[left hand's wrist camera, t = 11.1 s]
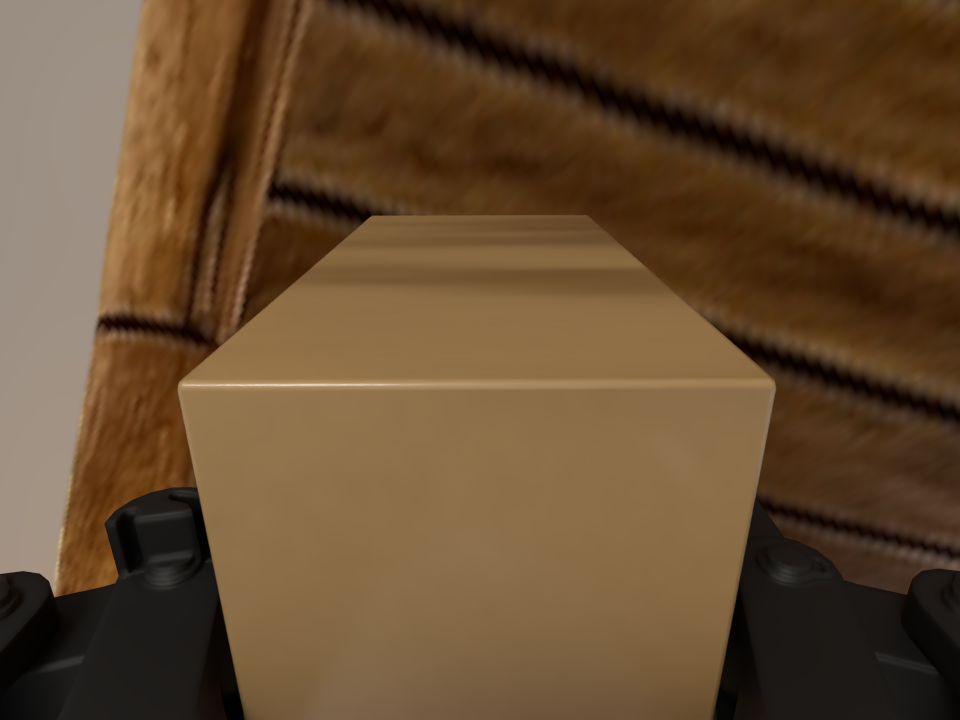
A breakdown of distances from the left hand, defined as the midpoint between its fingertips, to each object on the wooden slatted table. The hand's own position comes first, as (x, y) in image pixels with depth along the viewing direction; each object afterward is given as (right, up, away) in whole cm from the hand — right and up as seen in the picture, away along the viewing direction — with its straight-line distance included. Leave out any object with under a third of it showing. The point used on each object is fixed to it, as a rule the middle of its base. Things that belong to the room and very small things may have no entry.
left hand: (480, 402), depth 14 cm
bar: (0, -6, +3) cm, 7 cm away
